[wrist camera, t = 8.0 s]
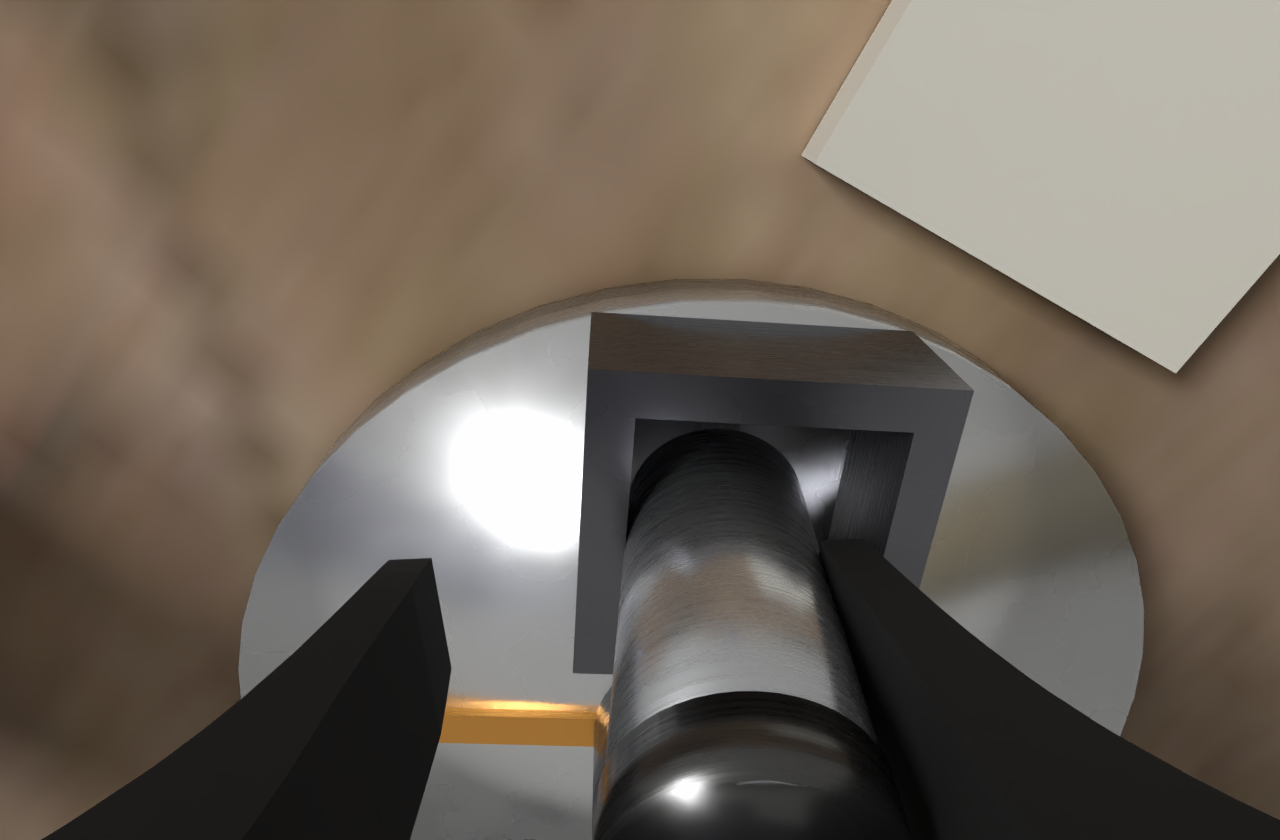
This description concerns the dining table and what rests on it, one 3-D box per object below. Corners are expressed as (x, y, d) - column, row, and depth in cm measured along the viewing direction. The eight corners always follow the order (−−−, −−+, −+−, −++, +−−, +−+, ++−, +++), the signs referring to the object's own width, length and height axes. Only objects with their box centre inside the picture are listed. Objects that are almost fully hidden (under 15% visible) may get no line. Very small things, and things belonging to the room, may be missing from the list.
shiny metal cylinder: (604, 555, 14) (553, 958, 8) (654, 404, 13) (642, 740, 7) (768, 598, 15) (845, 1020, 8) (833, 454, 13) (982, 823, 7)
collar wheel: (313, 929, 22) (255, 1104, 18) (202, 244, 14) (59, 318, 10) (981, 936, 23) (1048, 1101, 20) (1239, 310, 15) (1439, 397, 11)
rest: (801, 155, 14) (814, 162, 13) (1122, -392, 11) (1168, -430, 10) (1143, 354, 16) (1175, 373, 15) (1496, -66, 13) (1564, -75, 12)
